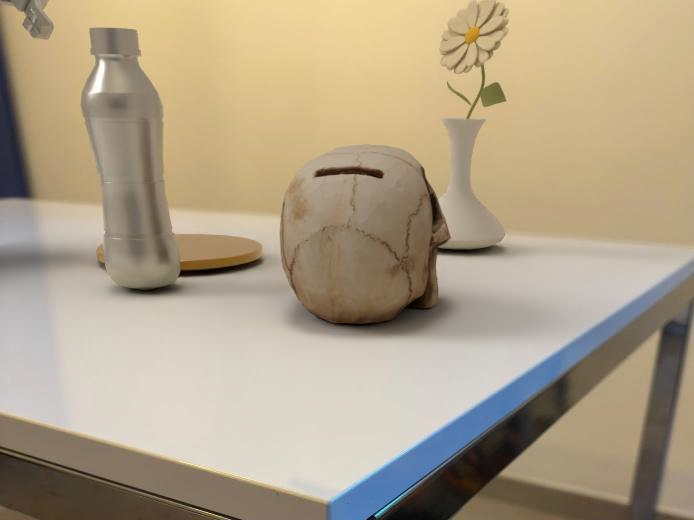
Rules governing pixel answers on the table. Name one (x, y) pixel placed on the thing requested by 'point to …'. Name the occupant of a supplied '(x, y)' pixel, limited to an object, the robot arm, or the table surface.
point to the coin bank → (362, 234)
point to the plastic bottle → (129, 163)
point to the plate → (211, 251)
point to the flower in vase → (470, 121)
